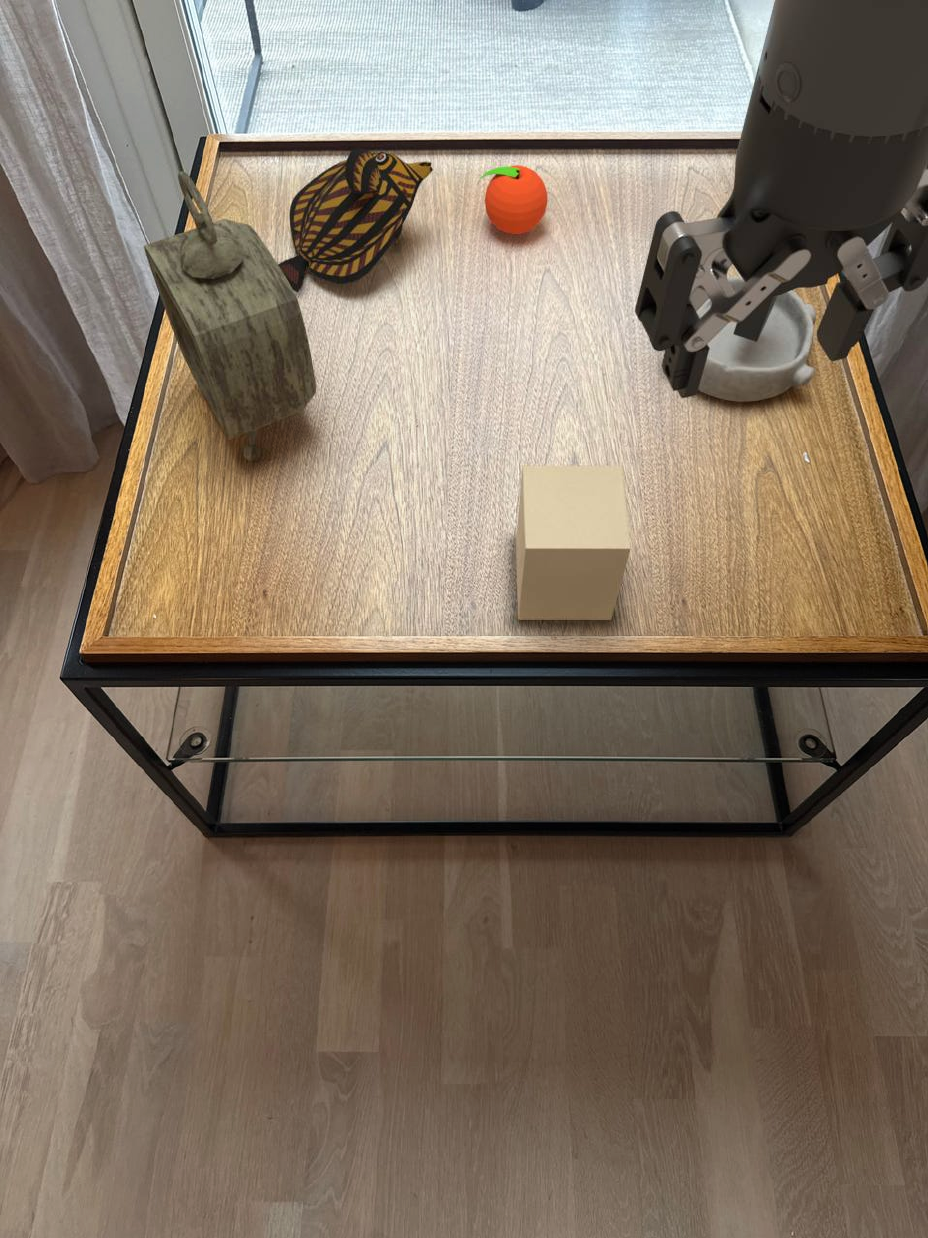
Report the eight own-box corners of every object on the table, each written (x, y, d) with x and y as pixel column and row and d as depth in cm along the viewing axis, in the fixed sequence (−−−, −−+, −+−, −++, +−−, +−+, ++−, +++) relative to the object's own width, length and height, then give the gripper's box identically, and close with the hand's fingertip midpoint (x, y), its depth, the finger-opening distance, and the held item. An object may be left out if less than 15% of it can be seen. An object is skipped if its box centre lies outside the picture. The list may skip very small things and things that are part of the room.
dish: (649, 383, 92) (658, 346, 88) (691, 296, 99) (701, 257, 94) (790, 429, 89) (807, 392, 85) (824, 336, 96) (841, 297, 91)
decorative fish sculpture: (406, 309, 98) (399, 214, 88) (265, 284, 100) (242, 187, 90) (440, 225, 104) (438, 127, 94) (307, 203, 106) (291, 105, 96)
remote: (772, 309, 91) (797, 240, 84) (756, 342, 88) (781, 274, 81) (747, 301, 91) (770, 232, 84) (731, 333, 89) (753, 265, 82)
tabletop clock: (190, 379, 93) (106, 146, 71) (273, 348, 95) (216, 113, 73) (244, 479, 87) (170, 257, 65) (331, 444, 89) (288, 217, 67)
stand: (604, 543, 83) (622, 465, 73) (611, 620, 79) (631, 548, 69) (515, 543, 83) (522, 465, 73) (518, 620, 79) (525, 548, 69)
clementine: (468, 239, 103) (468, 182, 97) (484, 201, 107) (485, 143, 100) (537, 252, 102) (541, 195, 96) (551, 213, 105) (556, 155, 99)
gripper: (978, -21, 37) (845, 290, 52) (649, 46, 36) (606, 347, 50) (1085, 86, 34) (911, 388, 48) (725, 165, 33) (656, 451, 47)
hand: (755, 367), depth 49 cm, fingers open, 8 cm apart
